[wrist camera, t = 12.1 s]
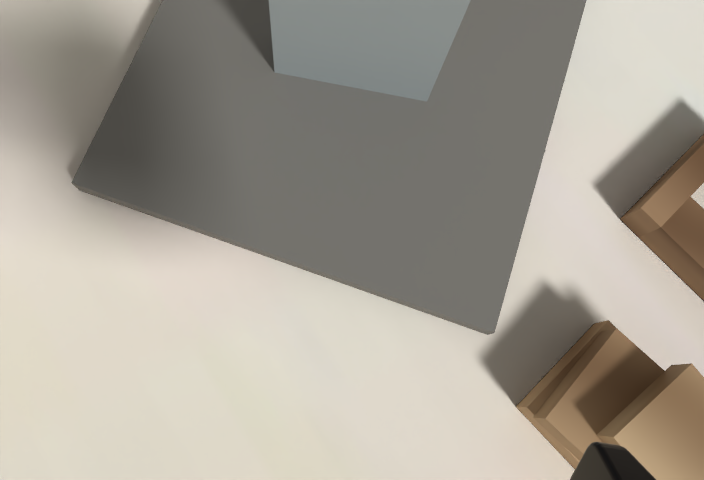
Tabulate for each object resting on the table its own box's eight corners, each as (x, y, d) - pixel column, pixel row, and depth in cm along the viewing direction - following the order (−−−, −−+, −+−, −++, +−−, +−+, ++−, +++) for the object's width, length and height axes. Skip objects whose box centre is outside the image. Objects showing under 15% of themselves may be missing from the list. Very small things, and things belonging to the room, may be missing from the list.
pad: (79, 189, 22) (71, 182, 22) (239, -135, 27) (238, -151, 26) (487, 334, 22) (494, 332, 22) (585, -14, 26) (593, -26, 26)
